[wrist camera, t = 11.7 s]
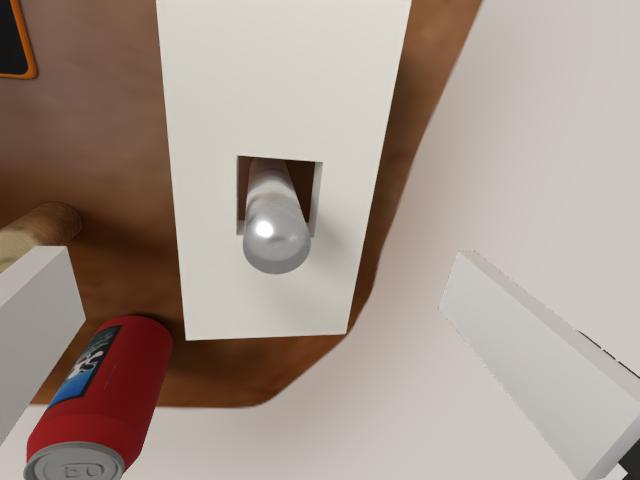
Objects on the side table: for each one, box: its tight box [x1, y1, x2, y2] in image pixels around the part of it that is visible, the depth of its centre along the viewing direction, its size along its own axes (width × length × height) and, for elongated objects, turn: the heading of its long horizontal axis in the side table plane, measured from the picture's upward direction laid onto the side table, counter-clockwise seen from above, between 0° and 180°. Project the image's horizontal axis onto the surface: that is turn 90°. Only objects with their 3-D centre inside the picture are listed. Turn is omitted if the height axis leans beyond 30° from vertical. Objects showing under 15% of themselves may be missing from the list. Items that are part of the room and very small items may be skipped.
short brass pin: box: [0, 202, 82, 274], centre depth 21 cm, size 3×3×7 cm
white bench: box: [156, 0, 411, 340], centre depth 22 cm, size 12×22×7 cm, turn 174°
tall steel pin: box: [243, 157, 311, 274], centre depth 20 cm, size 3×3×13 cm
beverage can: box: [24, 315, 173, 480], centre depth 25 cm, size 7×7×12 cm
